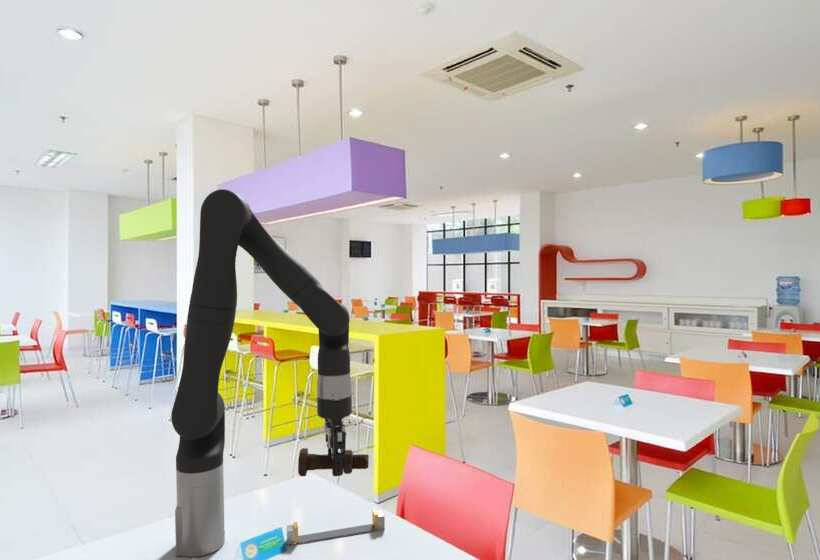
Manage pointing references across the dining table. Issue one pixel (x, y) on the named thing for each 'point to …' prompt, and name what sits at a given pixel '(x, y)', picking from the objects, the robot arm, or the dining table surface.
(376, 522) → the small wooden block
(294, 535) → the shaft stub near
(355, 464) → the bolt
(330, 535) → the pad
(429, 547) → the dining table surface
